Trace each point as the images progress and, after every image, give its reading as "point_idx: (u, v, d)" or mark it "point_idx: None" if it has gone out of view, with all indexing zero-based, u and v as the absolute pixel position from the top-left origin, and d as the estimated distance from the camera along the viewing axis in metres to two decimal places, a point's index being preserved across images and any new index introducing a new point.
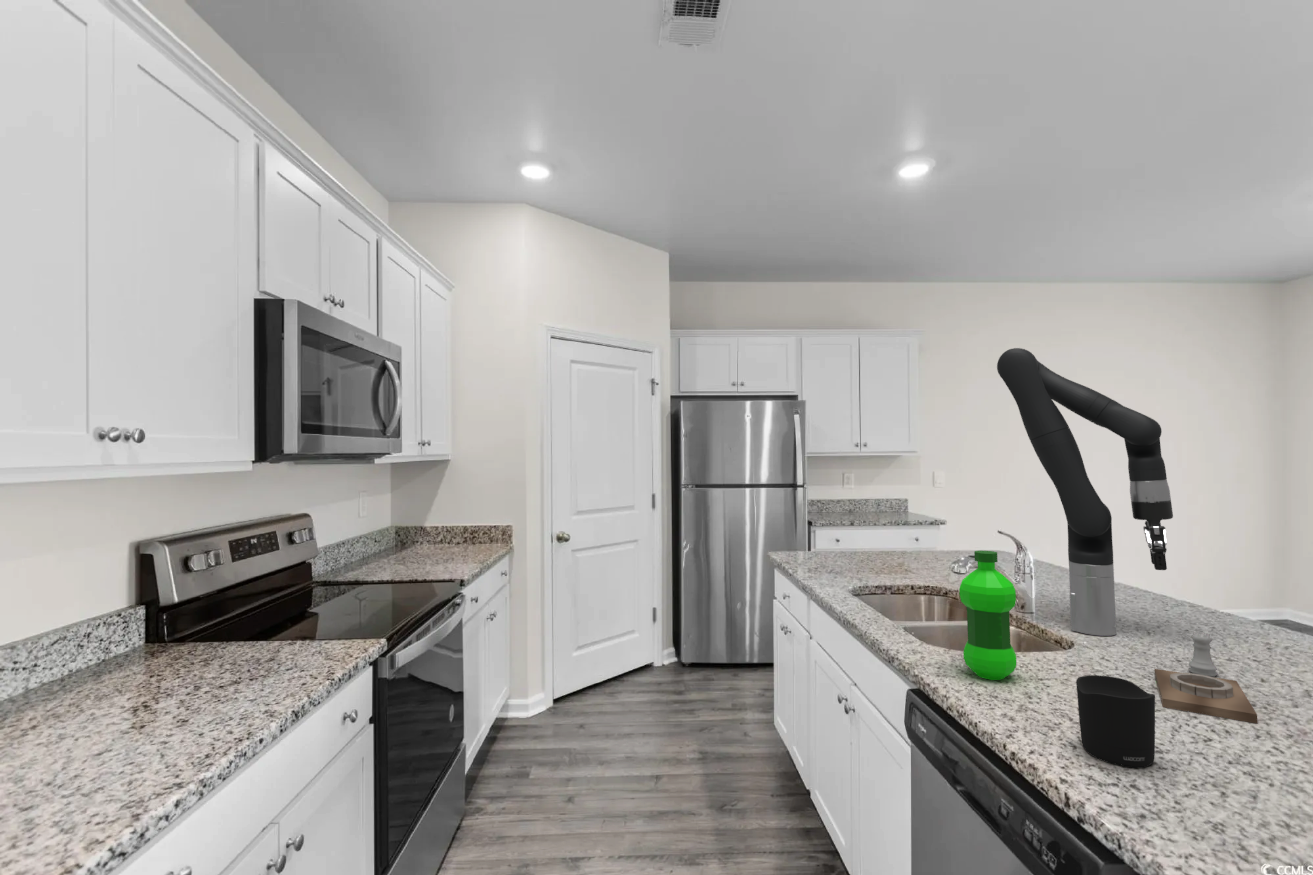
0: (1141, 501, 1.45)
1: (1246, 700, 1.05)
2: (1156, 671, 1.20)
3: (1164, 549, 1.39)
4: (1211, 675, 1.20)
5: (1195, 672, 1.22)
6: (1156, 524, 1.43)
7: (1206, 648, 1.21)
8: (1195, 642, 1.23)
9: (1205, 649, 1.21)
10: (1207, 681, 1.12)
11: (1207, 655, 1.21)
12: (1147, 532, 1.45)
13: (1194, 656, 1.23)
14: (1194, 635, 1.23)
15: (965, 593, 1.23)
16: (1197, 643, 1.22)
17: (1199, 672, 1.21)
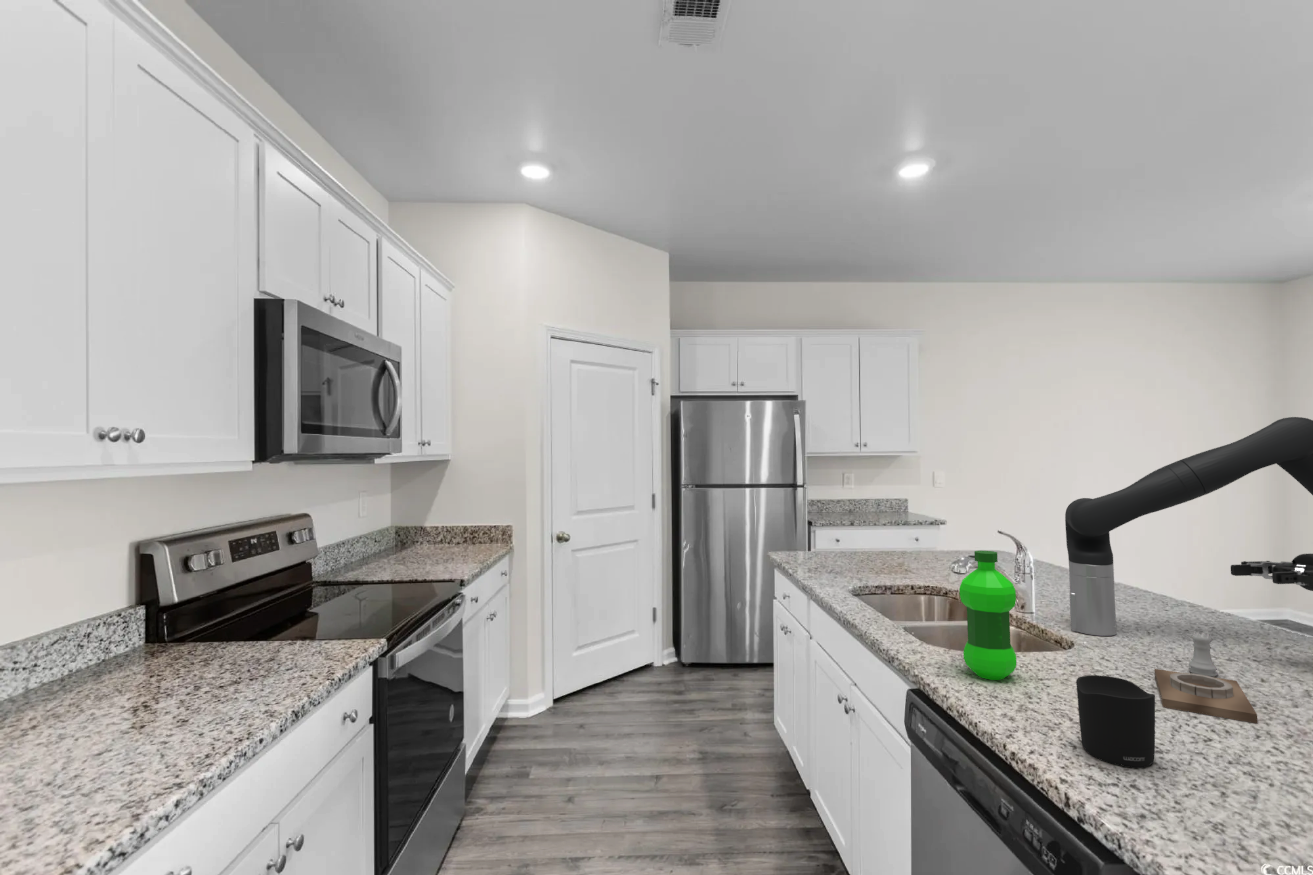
0: None
1: (1246, 700, 1.05)
2: (1156, 671, 1.20)
3: None
4: (1211, 675, 1.20)
5: (1195, 672, 1.22)
6: None
7: (1206, 648, 1.21)
8: (1195, 642, 1.23)
9: (1205, 649, 1.21)
10: (1207, 681, 1.12)
11: (1207, 655, 1.21)
12: (1305, 567, 1.21)
13: (1194, 656, 1.23)
14: (1194, 635, 1.23)
15: (965, 593, 1.23)
16: (1197, 643, 1.22)
17: (1199, 672, 1.21)
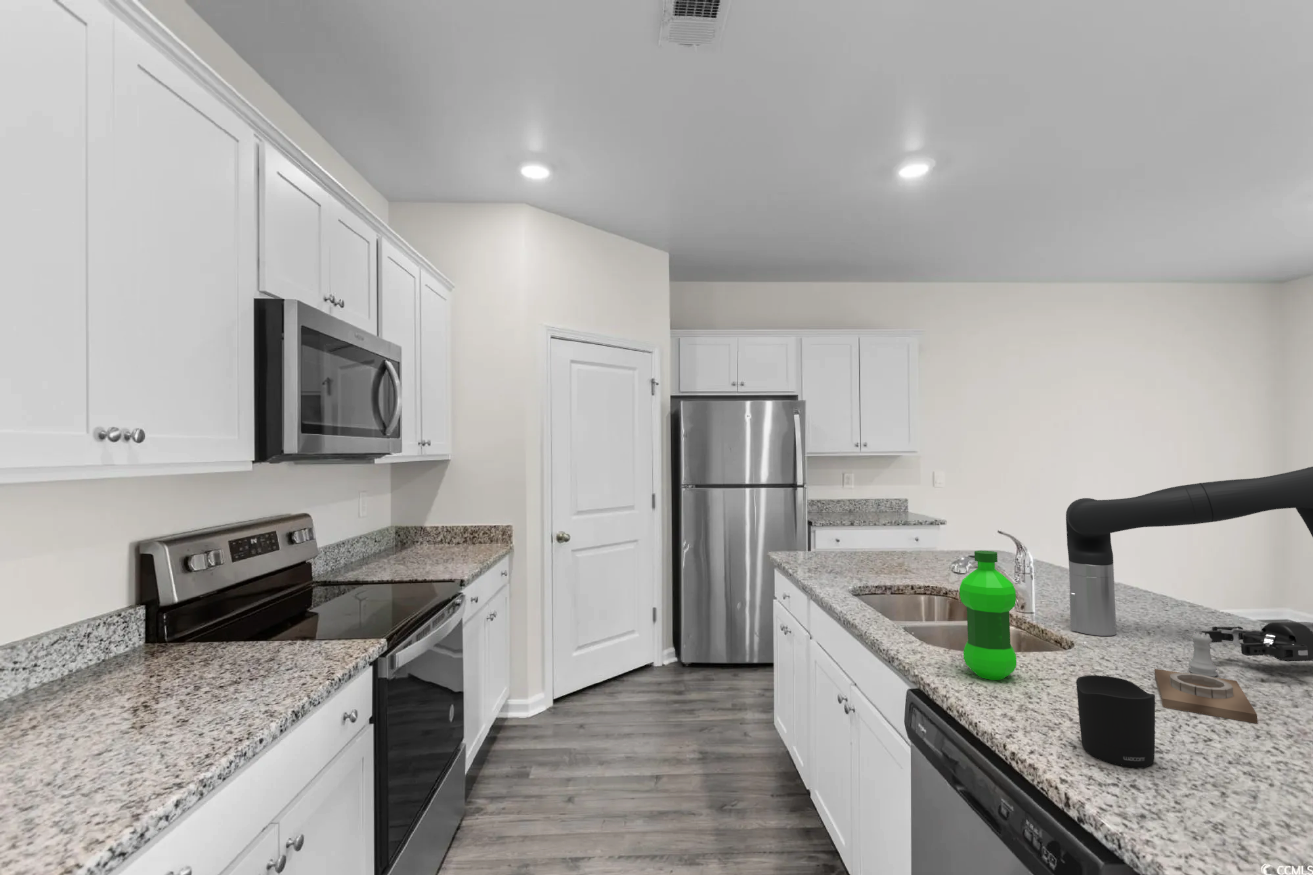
0: None
1: (1246, 700, 1.05)
2: (1156, 671, 1.20)
3: (1284, 658, 1.15)
4: (1211, 675, 1.20)
5: (1195, 672, 1.22)
6: None
7: (1206, 648, 1.21)
8: (1195, 642, 1.23)
9: (1205, 649, 1.21)
10: (1207, 681, 1.12)
11: (1207, 655, 1.21)
12: (1275, 638, 1.20)
13: (1194, 656, 1.23)
14: (1194, 635, 1.23)
15: (965, 593, 1.23)
16: (1197, 643, 1.22)
17: (1199, 672, 1.21)
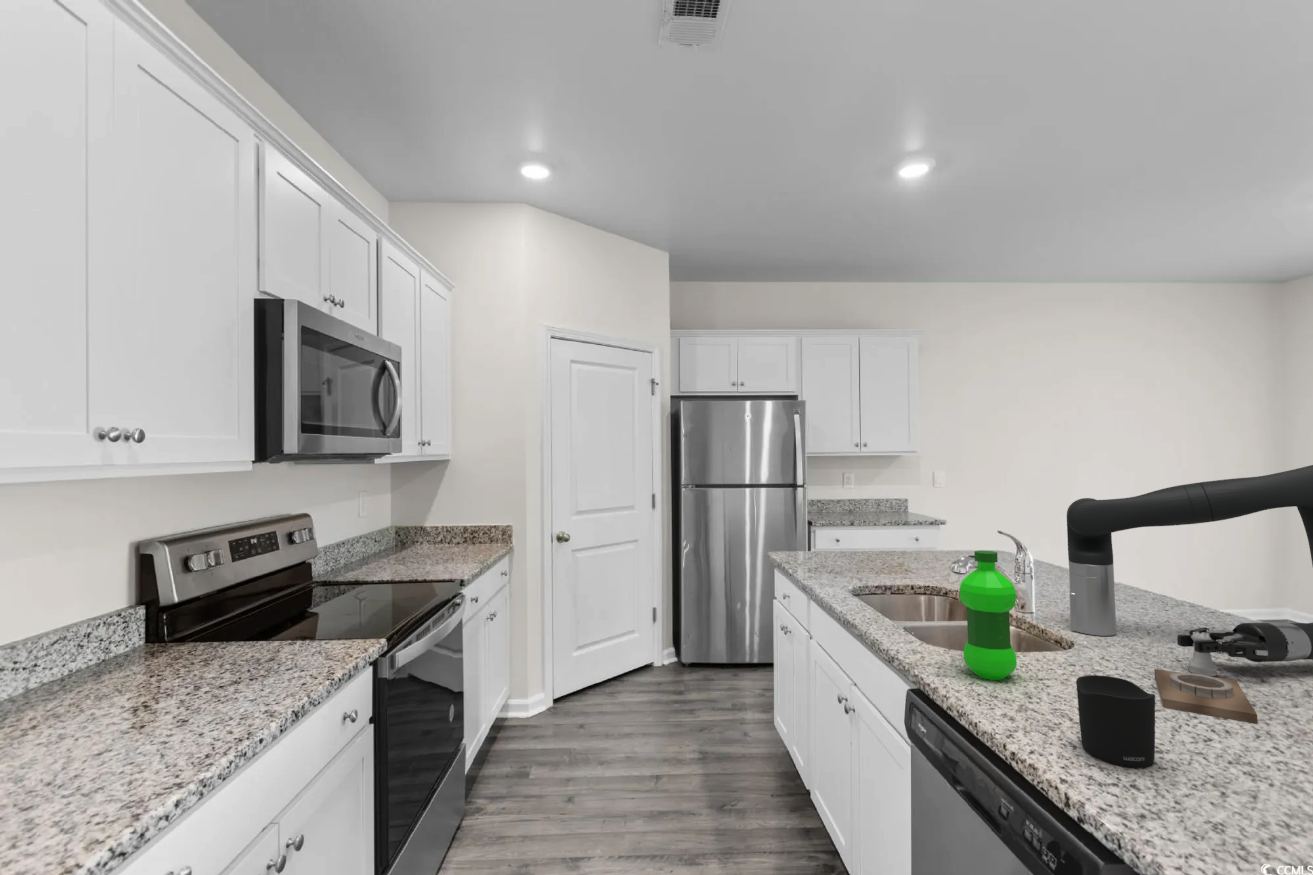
0: (1285, 637, 1.20)
1: (1246, 700, 1.05)
2: (1156, 671, 1.20)
3: (1234, 655, 1.18)
4: (1211, 675, 1.20)
5: (1195, 672, 1.22)
6: None
7: None
8: None
9: None
10: (1207, 681, 1.12)
11: (1207, 655, 1.21)
12: (1241, 638, 1.21)
13: (1194, 656, 1.23)
14: (1194, 635, 1.23)
15: (965, 593, 1.23)
16: None
17: (1199, 672, 1.21)
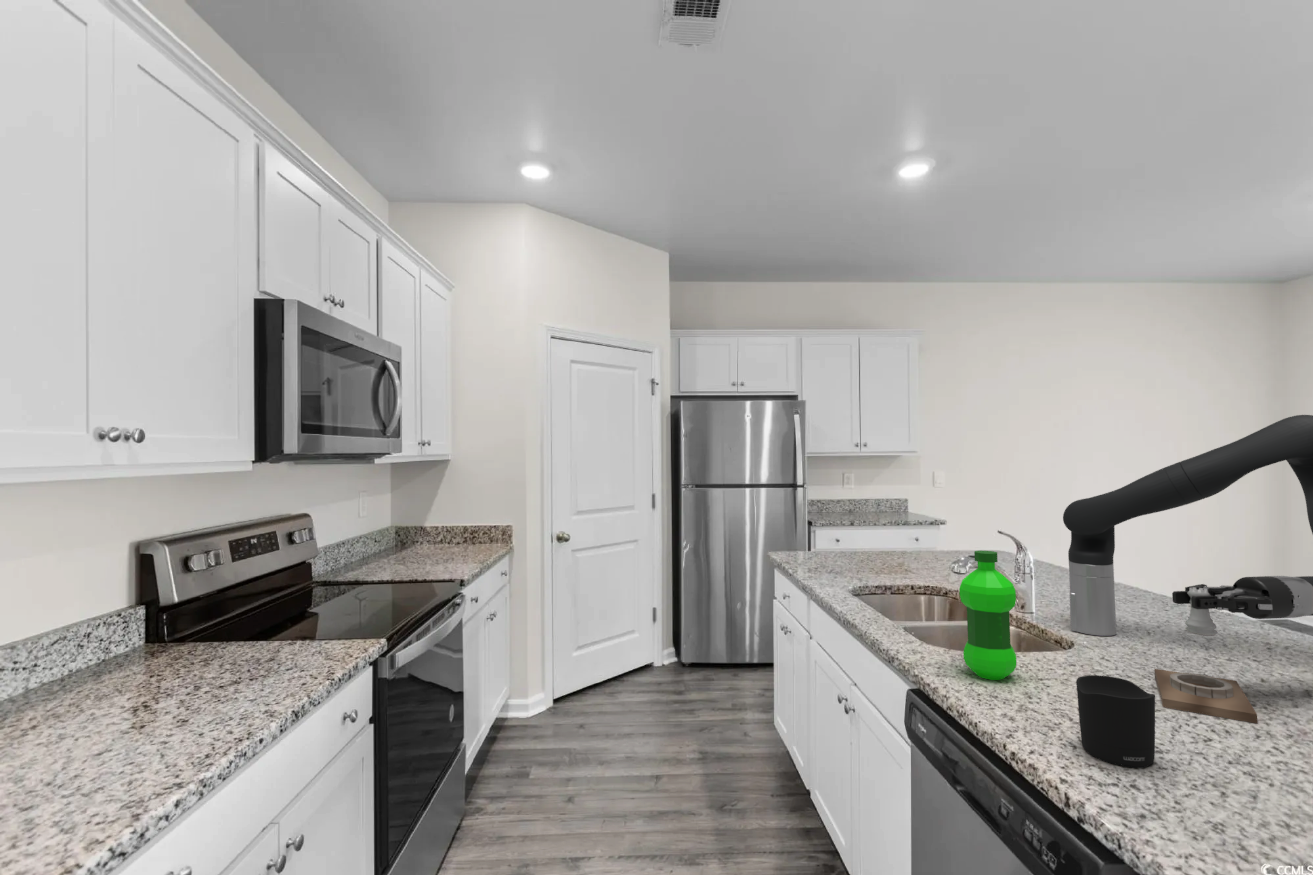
0: (1290, 590, 1.08)
1: (1246, 700, 1.05)
2: (1156, 671, 1.20)
3: (1235, 611, 1.06)
4: (1210, 633, 1.09)
5: (1192, 631, 1.10)
6: None
7: None
8: None
9: None
10: (1207, 681, 1.12)
11: (1205, 612, 1.10)
12: (1242, 592, 1.09)
13: (1191, 614, 1.11)
14: (1191, 590, 1.11)
15: (965, 593, 1.23)
16: None
17: (1197, 631, 1.10)
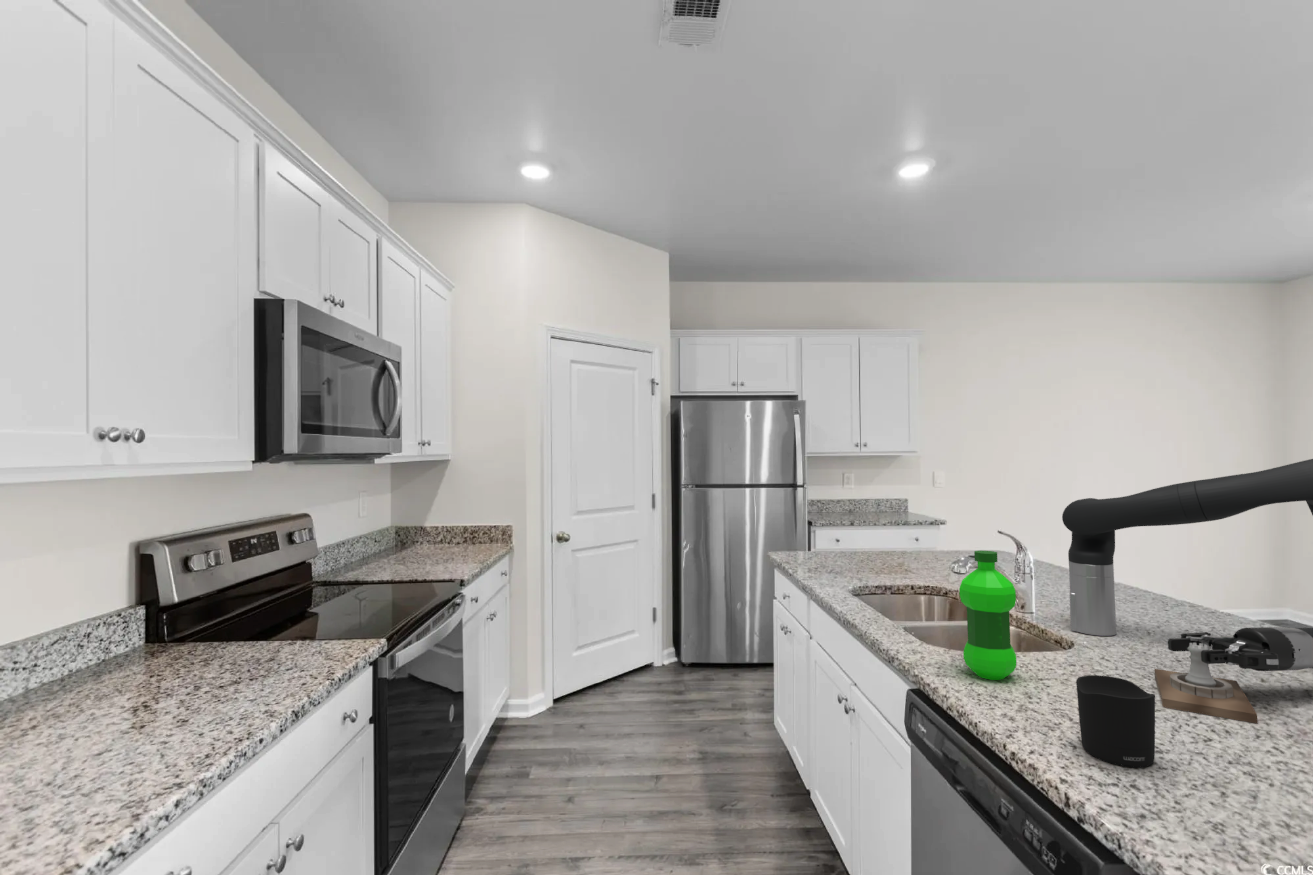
0: (1291, 643, 1.08)
1: (1246, 700, 1.05)
2: (1156, 671, 1.20)
3: (1247, 667, 1.04)
4: None
5: None
6: None
7: None
8: (1192, 654, 1.11)
9: (1203, 662, 1.10)
10: None
11: (1205, 668, 1.10)
12: (1245, 645, 1.09)
13: (1191, 669, 1.11)
14: (1191, 646, 1.11)
15: (965, 593, 1.23)
16: (1194, 655, 1.11)
17: None
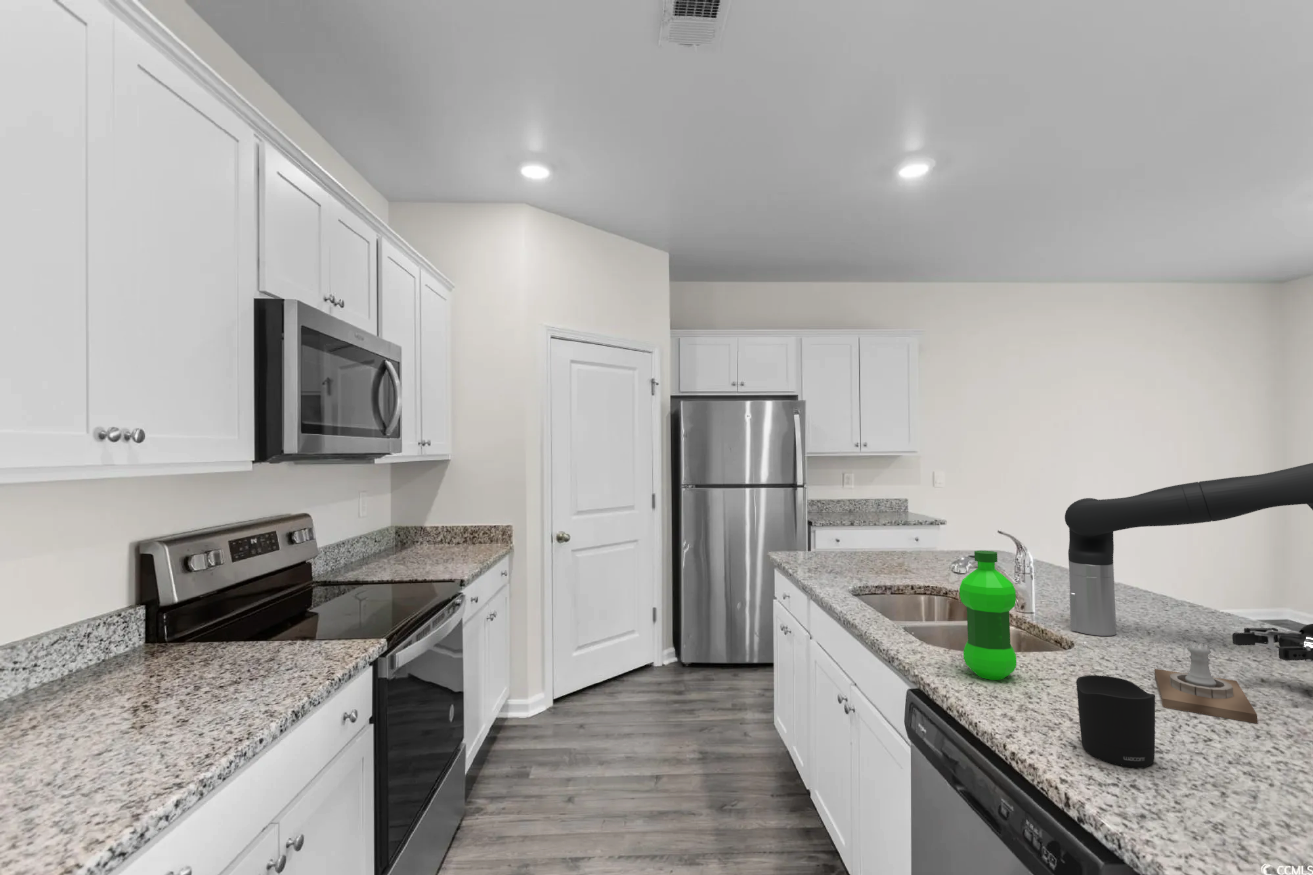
0: None
1: (1246, 700, 1.05)
2: (1156, 671, 1.20)
3: None
4: None
5: None
6: None
7: (1204, 661, 1.10)
8: (1192, 654, 1.11)
9: (1203, 662, 1.10)
10: None
11: (1205, 668, 1.10)
12: None
13: (1191, 669, 1.11)
14: (1191, 646, 1.11)
15: (965, 593, 1.23)
16: (1194, 655, 1.10)
17: None
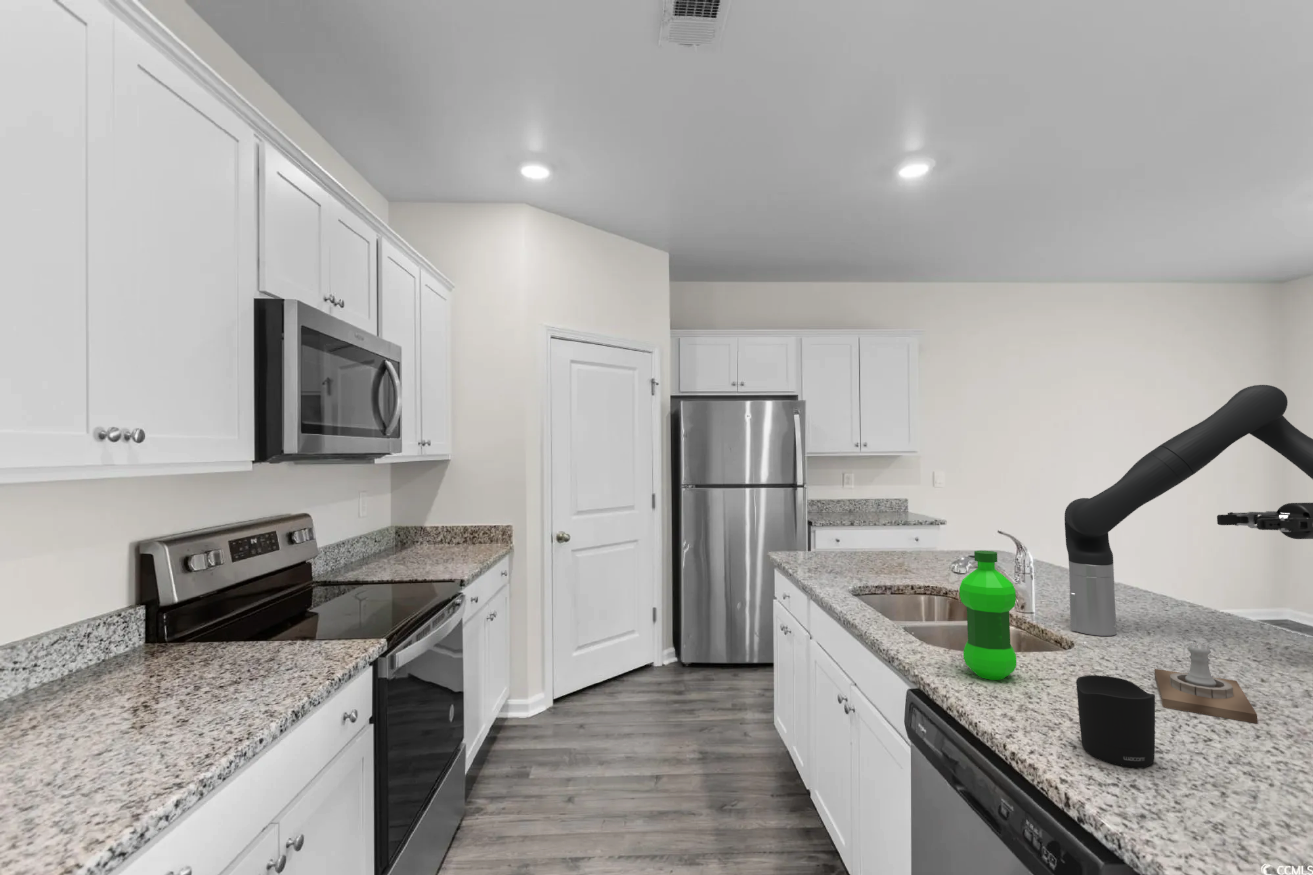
0: None
1: (1246, 700, 1.05)
2: (1156, 671, 1.20)
3: (1299, 530, 1.19)
4: None
5: None
6: None
7: (1204, 661, 1.10)
8: (1192, 654, 1.11)
9: (1203, 662, 1.10)
10: None
11: (1205, 668, 1.10)
12: (1289, 515, 1.24)
13: (1191, 669, 1.11)
14: (1191, 646, 1.11)
15: (965, 593, 1.23)
16: (1194, 655, 1.10)
17: None
